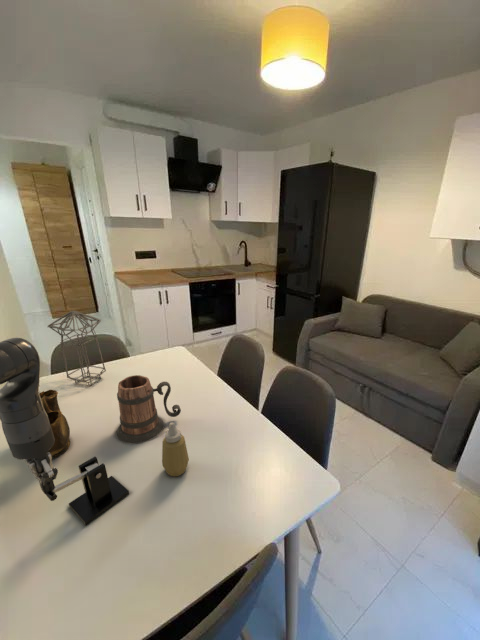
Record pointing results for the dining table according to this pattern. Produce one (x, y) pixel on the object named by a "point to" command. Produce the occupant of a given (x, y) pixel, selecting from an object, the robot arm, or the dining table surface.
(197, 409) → the dining table surface
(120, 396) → the tankard
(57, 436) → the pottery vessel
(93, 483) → the bracket
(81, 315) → the geometric lantern
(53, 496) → the lever
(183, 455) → the squeeze bottle
